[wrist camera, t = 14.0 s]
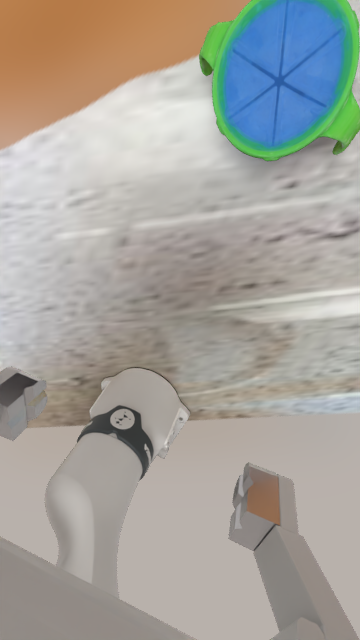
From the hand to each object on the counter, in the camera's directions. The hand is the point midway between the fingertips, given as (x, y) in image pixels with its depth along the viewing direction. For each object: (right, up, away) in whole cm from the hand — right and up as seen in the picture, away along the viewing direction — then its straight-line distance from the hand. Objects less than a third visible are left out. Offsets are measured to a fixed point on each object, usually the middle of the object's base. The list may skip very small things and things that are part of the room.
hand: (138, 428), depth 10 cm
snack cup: (+12, +27, +19) cm, 35 cm away
